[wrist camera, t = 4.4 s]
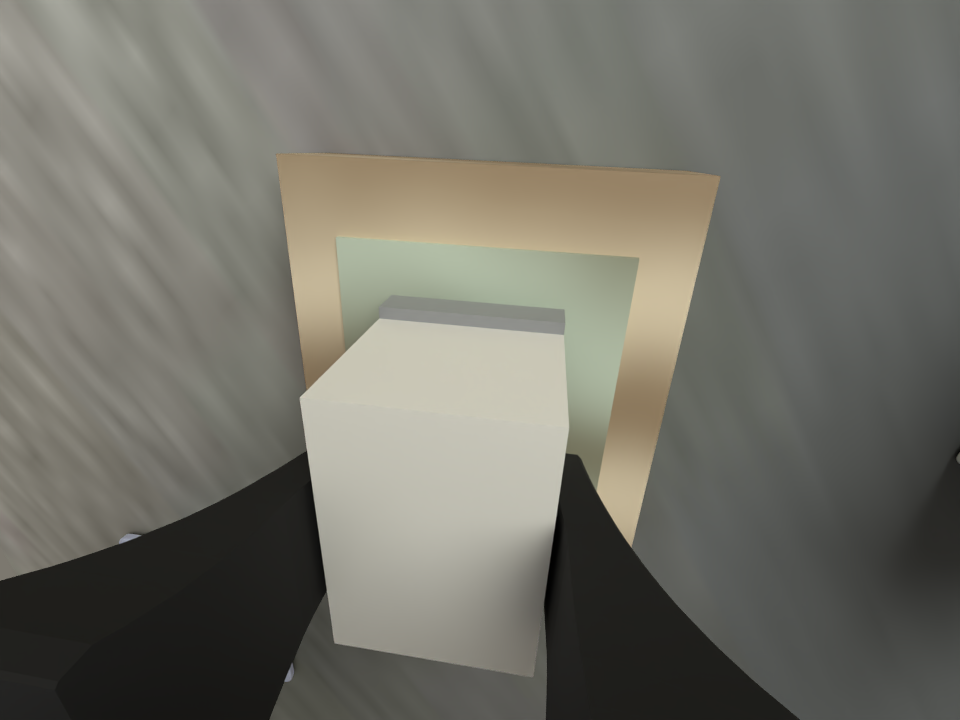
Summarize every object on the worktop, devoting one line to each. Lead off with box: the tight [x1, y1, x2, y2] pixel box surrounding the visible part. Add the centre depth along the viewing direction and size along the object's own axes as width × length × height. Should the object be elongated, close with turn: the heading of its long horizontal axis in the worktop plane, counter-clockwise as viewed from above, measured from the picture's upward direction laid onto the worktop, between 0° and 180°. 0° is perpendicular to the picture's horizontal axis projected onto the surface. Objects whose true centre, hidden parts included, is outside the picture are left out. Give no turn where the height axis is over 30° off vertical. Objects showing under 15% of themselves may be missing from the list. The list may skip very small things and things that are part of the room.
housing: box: [300, 295, 569, 677], centre depth 11 cm, size 7×4×5 cm, turn 178°
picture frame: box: [276, 153, 720, 547], centre depth 16 cm, size 14×11×3 cm
